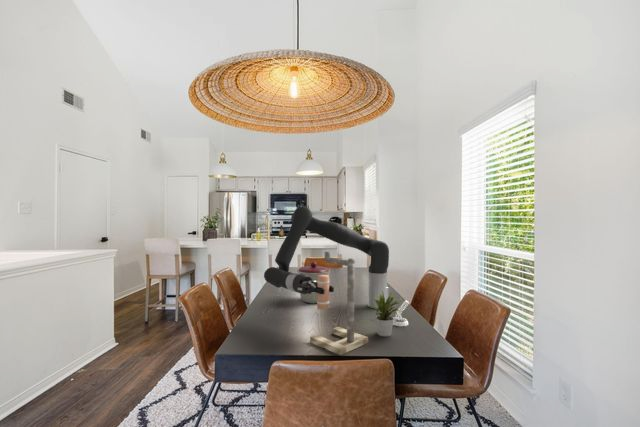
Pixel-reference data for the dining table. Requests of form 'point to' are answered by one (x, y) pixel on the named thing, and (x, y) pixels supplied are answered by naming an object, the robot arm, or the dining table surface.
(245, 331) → the dining table surface
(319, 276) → the orange cylindrical bottle
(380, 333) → the house plant
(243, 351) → the dining table surface
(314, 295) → the canister
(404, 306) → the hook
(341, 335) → the wooden gallows stand
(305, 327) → the dining table surface
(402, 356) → the dining table surface
